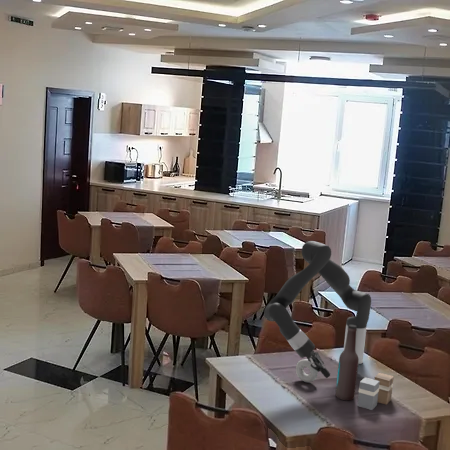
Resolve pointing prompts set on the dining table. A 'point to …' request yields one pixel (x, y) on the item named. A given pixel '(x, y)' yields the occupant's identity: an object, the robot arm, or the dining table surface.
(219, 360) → the dining table surface
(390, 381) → the tan block
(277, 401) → the dining table surface
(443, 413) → the dining table surface
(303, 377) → the donut
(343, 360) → the beer bottle
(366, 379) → the slate block
